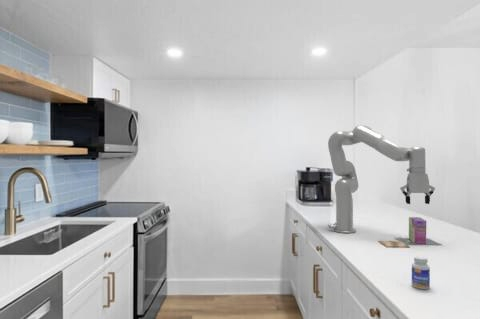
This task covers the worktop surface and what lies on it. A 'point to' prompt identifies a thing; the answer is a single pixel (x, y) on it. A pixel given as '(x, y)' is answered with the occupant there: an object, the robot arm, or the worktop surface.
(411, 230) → the box
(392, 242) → the wooden pad
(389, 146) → the robot arm
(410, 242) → the tile
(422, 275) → the pill bottle
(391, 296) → the worktop surface
